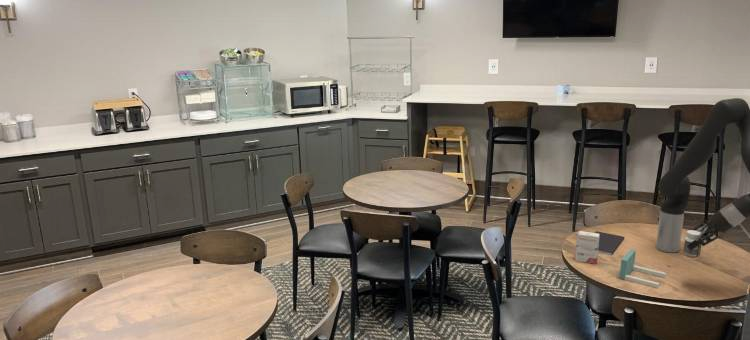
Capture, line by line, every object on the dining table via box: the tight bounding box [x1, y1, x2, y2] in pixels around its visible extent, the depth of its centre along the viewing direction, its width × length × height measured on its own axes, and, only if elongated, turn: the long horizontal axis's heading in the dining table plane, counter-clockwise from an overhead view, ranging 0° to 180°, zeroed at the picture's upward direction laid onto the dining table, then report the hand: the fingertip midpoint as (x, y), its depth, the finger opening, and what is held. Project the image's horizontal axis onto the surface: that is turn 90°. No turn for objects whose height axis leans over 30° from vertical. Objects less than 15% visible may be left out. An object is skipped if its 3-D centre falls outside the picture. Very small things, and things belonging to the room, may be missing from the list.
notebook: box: [594, 230, 625, 256], centre depth 265 cm, size 13×2×21 cm
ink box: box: [574, 230, 600, 265], centre depth 248 cm, size 9×5×12 cm, turn 65°
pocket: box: [619, 248, 667, 289], centre depth 232 cm, size 14×12×8 cm
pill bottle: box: [682, 229, 702, 261], centre depth 223 cm, size 6×6×10 cm
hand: (687, 244), depth 224 cm, fingers closed on pill bottle, 5 cm apart
